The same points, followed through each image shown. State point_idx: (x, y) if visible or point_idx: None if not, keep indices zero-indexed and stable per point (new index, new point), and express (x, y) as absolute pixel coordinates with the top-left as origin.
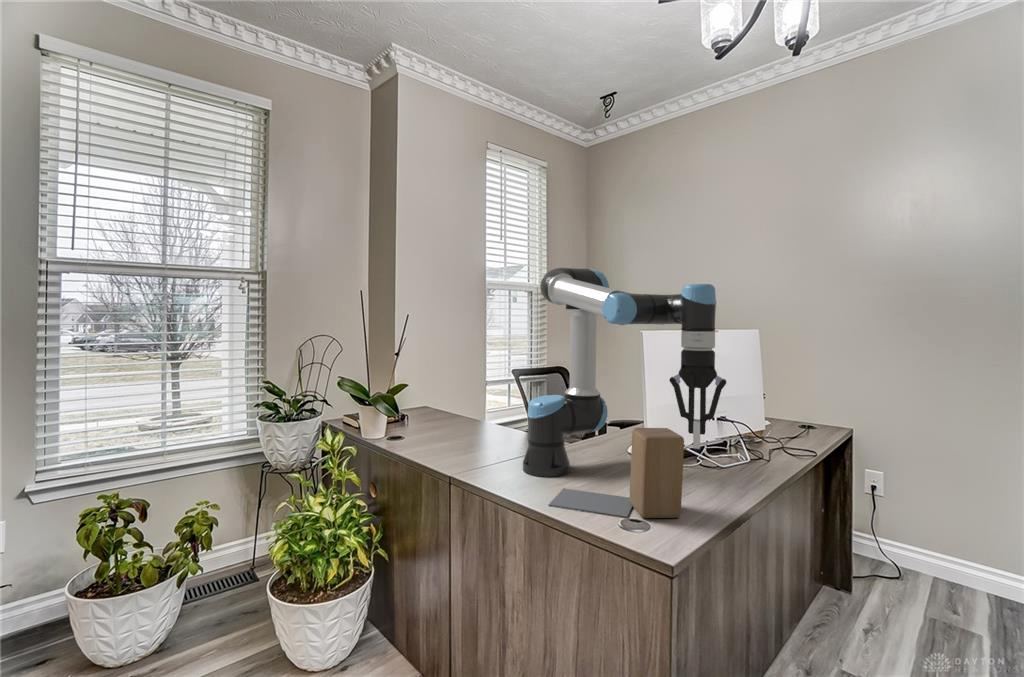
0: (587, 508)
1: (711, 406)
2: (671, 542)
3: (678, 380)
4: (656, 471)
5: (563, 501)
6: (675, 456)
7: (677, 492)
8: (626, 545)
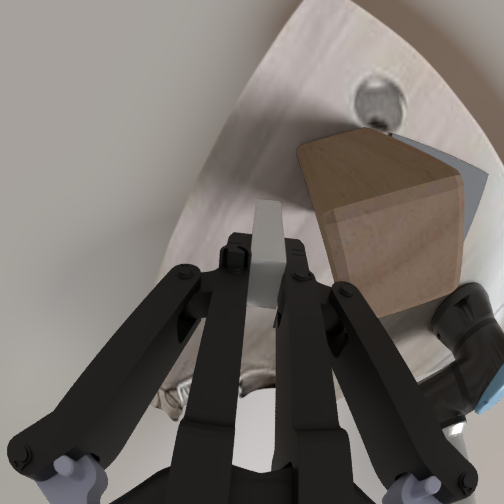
0: (447, 162)
1: (164, 320)
2: (319, 44)
3: (413, 500)
4: (379, 148)
5: (472, 188)
6: (339, 174)
7: (311, 152)
8: (390, 30)
